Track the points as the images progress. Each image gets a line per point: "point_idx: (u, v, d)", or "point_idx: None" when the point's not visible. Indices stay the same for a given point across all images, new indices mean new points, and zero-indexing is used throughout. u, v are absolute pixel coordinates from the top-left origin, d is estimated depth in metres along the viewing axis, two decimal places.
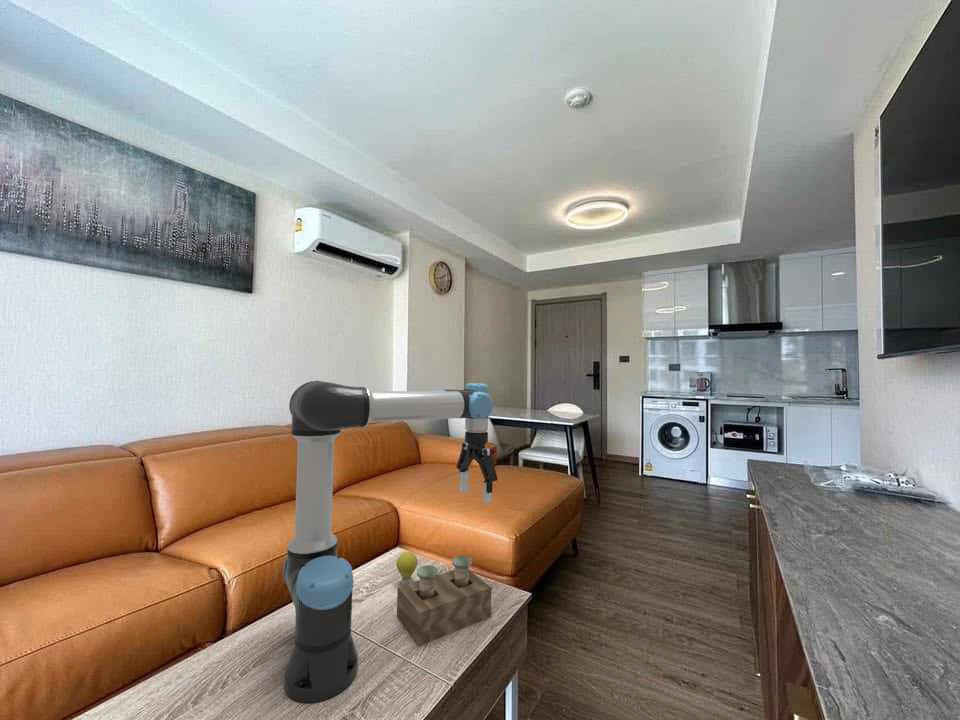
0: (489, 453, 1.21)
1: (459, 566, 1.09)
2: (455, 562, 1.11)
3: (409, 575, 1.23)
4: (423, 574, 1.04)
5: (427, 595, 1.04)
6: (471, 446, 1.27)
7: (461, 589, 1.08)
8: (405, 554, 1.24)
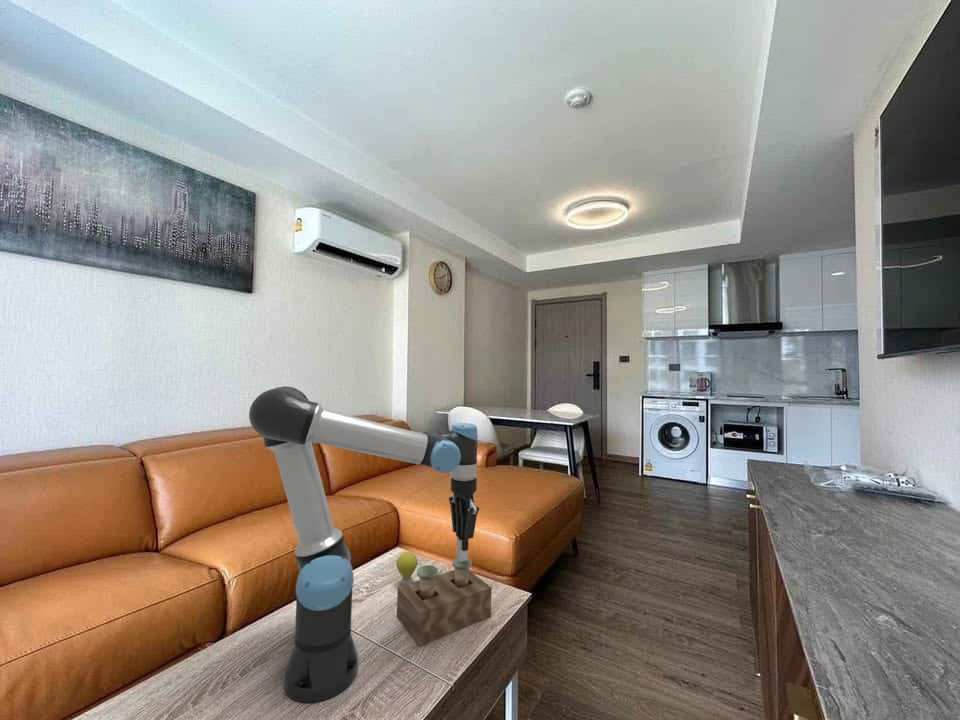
0: (475, 513, 1.08)
1: (459, 567, 1.09)
2: (455, 563, 1.11)
3: (409, 575, 1.23)
4: (423, 574, 1.04)
5: (427, 595, 1.04)
6: None
7: (461, 589, 1.08)
8: (405, 554, 1.24)
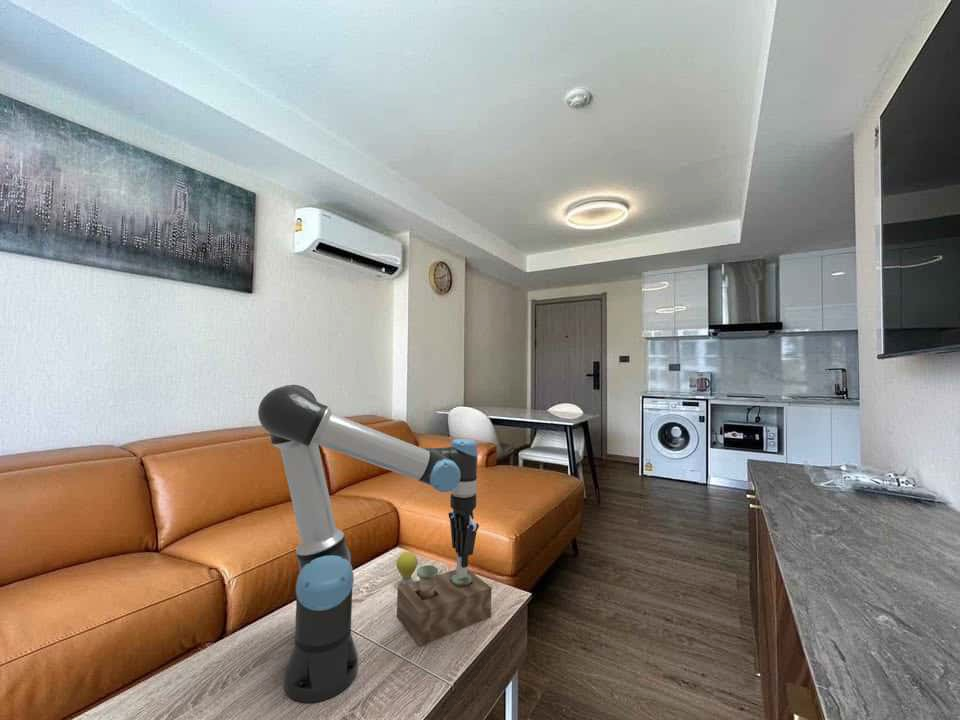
0: (475, 529, 1.08)
1: (459, 584, 1.09)
2: (455, 580, 1.10)
3: (409, 575, 1.23)
4: (423, 574, 1.04)
5: (427, 595, 1.04)
6: None
7: (461, 589, 1.08)
8: (405, 554, 1.24)
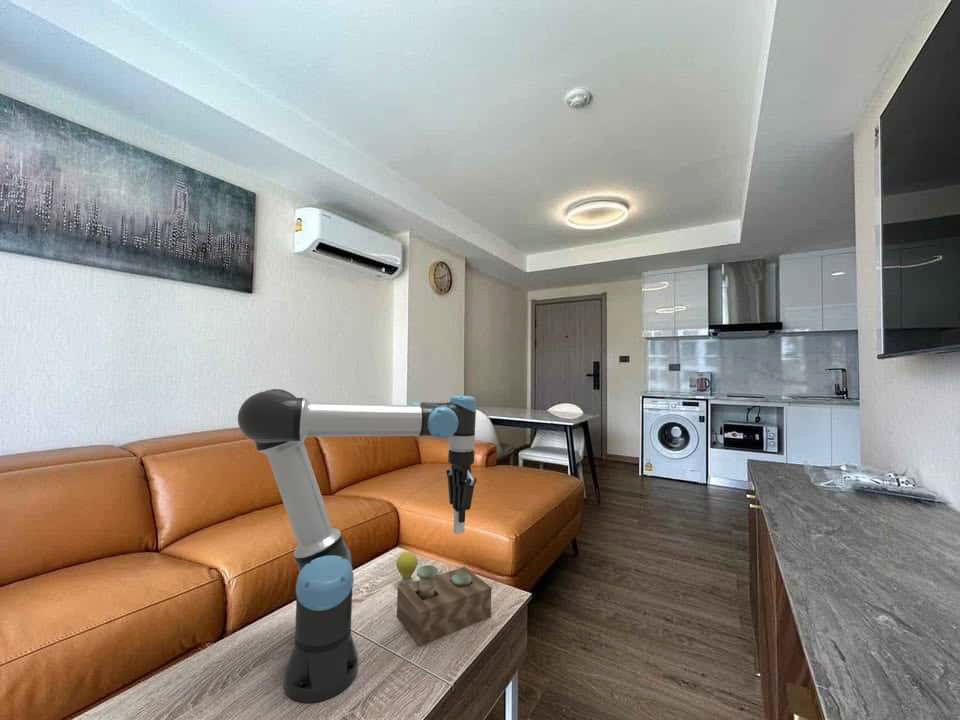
0: (472, 484, 1.08)
1: (459, 584, 1.09)
2: (455, 580, 1.10)
3: (409, 575, 1.23)
4: (423, 574, 1.04)
5: (427, 595, 1.04)
6: None
7: (461, 589, 1.08)
8: (405, 554, 1.24)
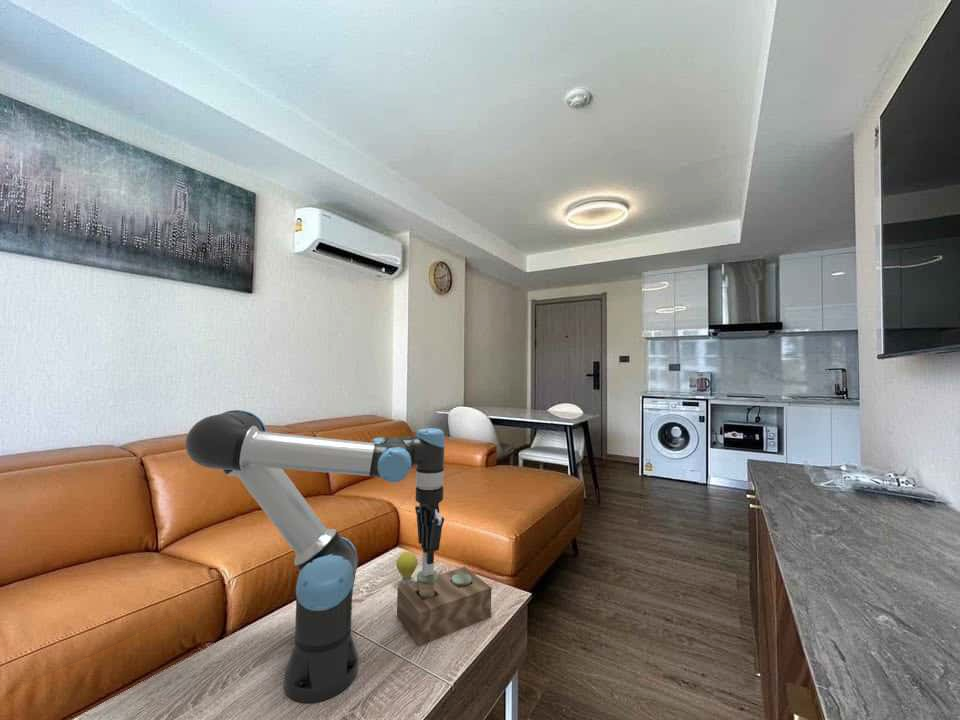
0: (440, 524, 1.02)
1: (459, 584, 1.09)
2: (455, 580, 1.10)
3: (409, 575, 1.23)
4: (423, 579, 1.04)
5: None
6: None
7: (461, 589, 1.08)
8: (405, 554, 1.24)
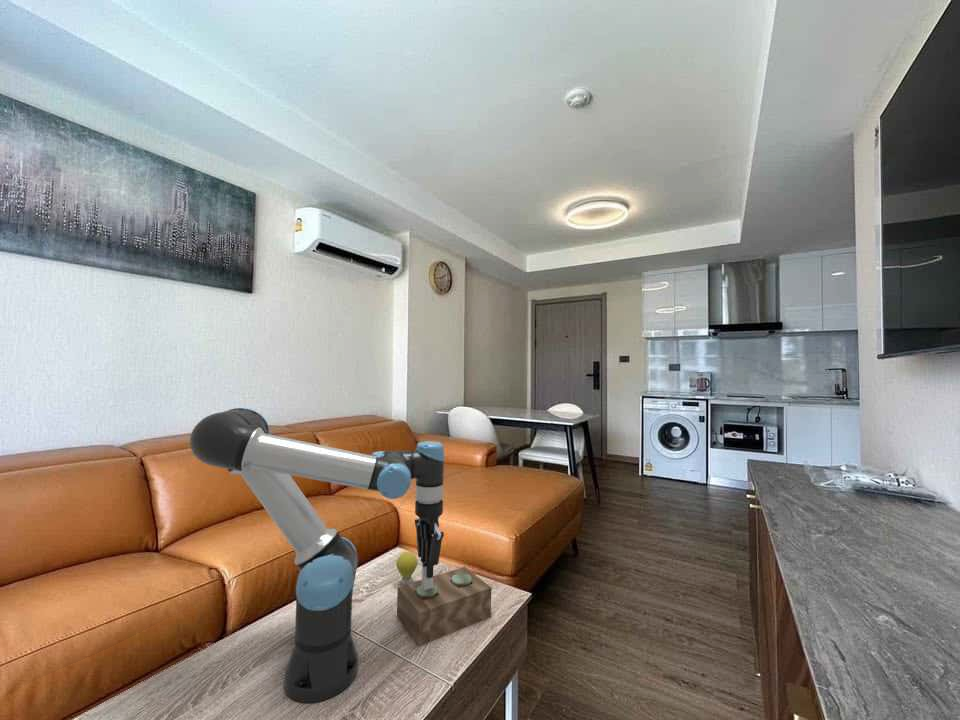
0: (439, 538, 1.02)
1: (459, 584, 1.09)
2: (455, 580, 1.10)
3: (409, 575, 1.23)
4: (423, 593, 1.03)
5: None
6: None
7: (461, 589, 1.08)
8: (405, 554, 1.24)
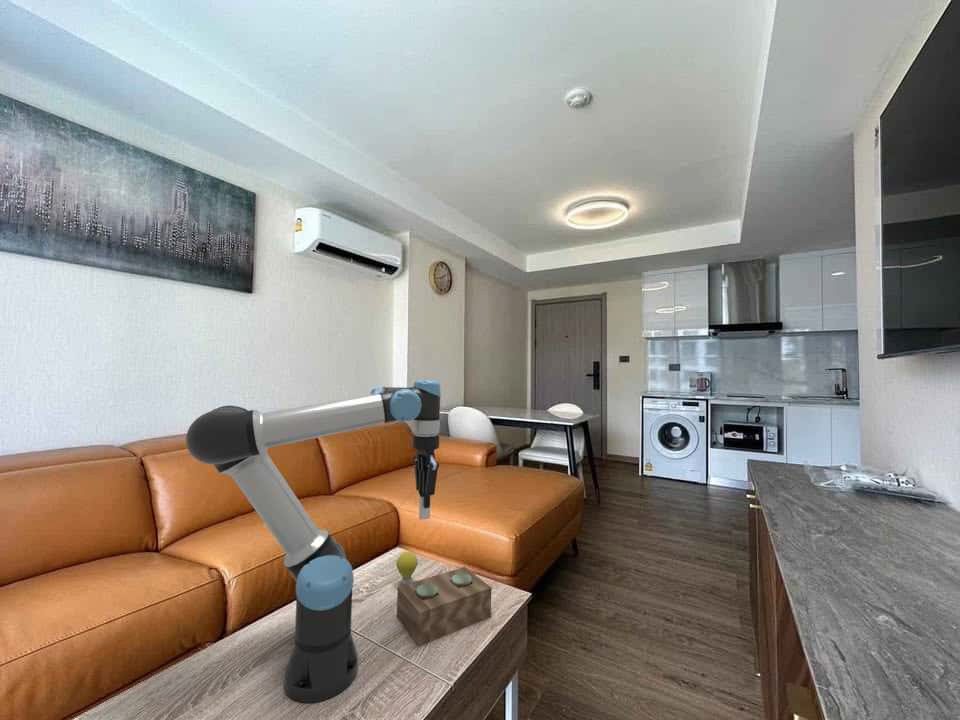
0: (435, 468, 1.07)
1: (459, 584, 1.09)
2: (455, 580, 1.10)
3: (409, 575, 1.23)
4: (423, 593, 1.03)
5: None
6: None
7: (461, 589, 1.08)
8: (405, 554, 1.24)
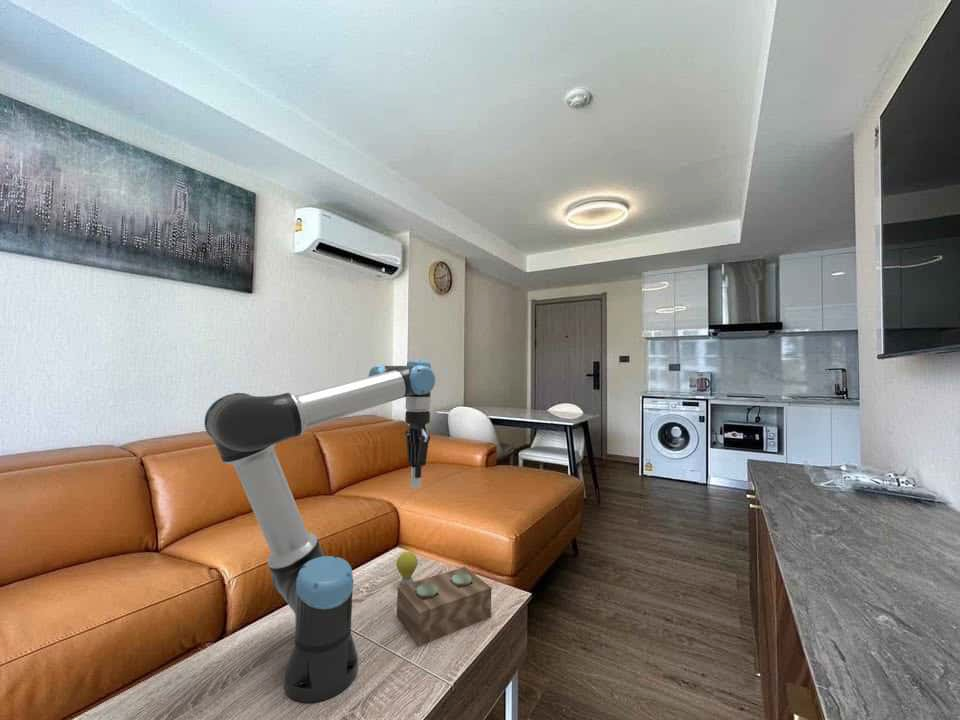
0: (426, 440, 1.16)
1: (459, 584, 1.09)
2: (455, 580, 1.10)
3: (409, 575, 1.23)
4: (423, 593, 1.03)
5: None
6: None
7: (461, 589, 1.08)
8: (405, 554, 1.24)
